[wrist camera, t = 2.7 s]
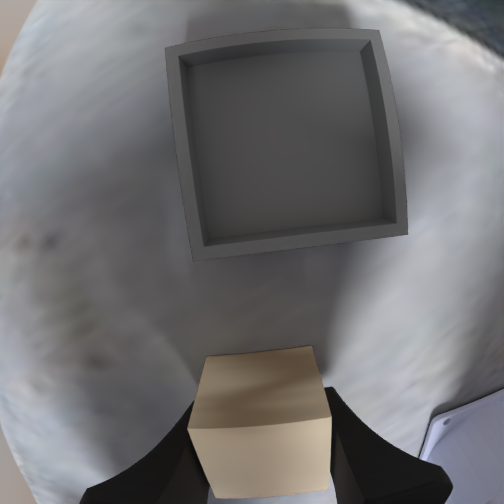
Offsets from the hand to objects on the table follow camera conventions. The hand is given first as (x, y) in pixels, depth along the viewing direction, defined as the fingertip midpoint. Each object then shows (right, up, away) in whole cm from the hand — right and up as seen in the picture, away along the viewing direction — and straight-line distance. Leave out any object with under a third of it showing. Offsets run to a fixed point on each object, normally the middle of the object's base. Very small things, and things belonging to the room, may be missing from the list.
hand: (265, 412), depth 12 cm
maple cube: (0, 0, +1) cm, 1 cm away
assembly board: (+1, +11, -1) cm, 11 cm away
